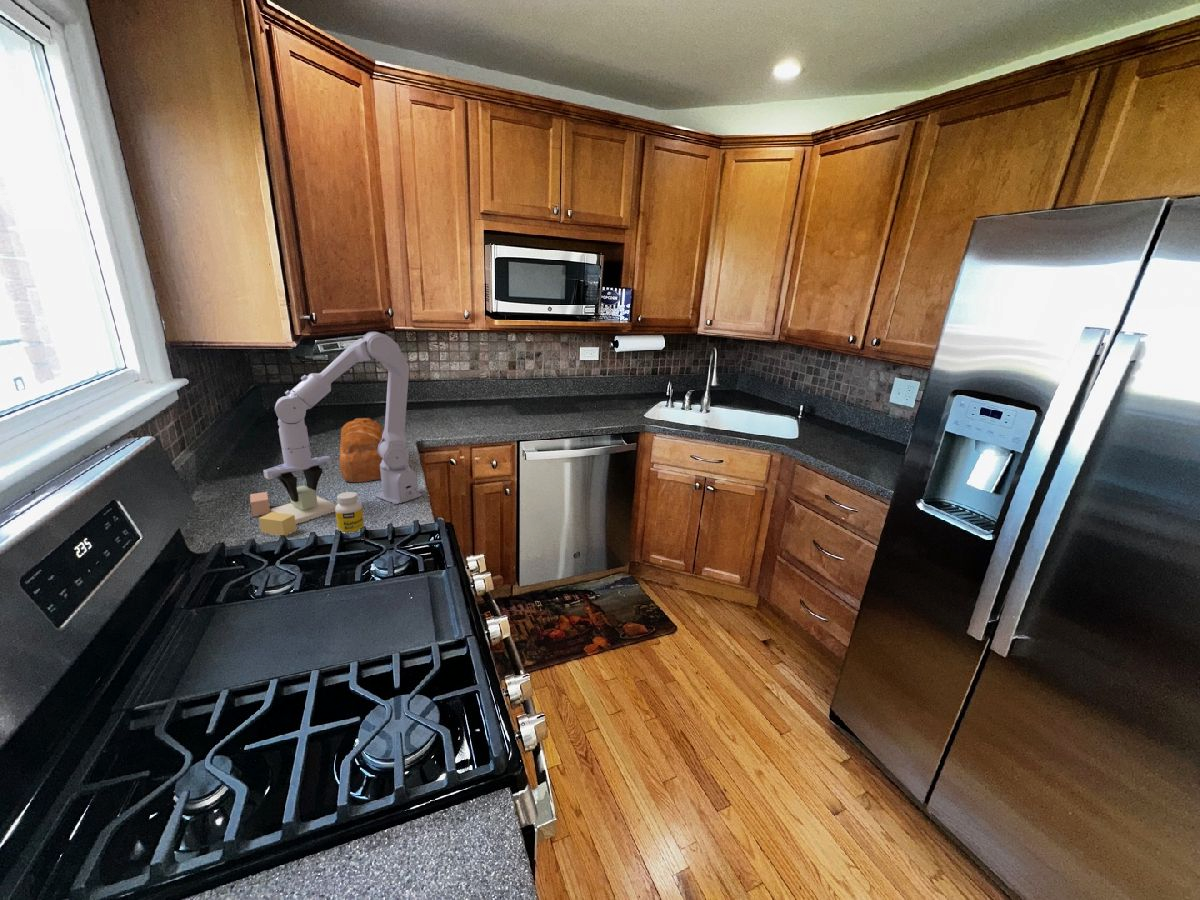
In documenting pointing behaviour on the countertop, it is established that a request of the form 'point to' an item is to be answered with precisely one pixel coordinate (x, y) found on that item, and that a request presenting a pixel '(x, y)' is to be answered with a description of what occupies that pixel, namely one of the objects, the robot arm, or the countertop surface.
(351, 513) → the supplement bottle
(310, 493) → the sage brick
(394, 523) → the countertop surface
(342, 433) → the bread
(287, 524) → the mustard brick
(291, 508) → the board
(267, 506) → the clay brick
